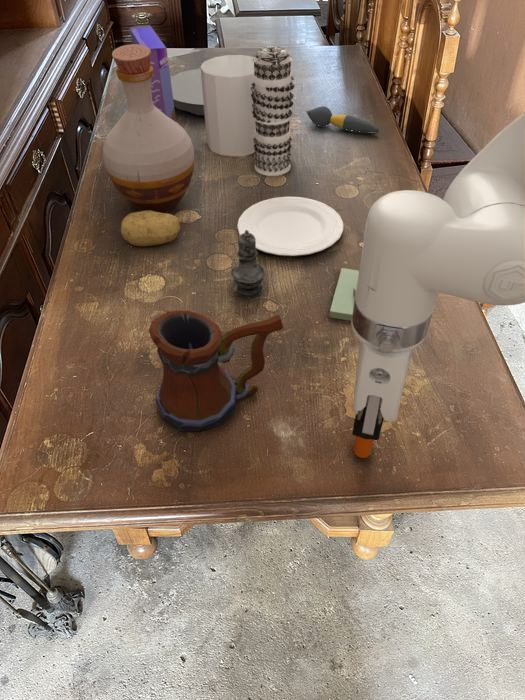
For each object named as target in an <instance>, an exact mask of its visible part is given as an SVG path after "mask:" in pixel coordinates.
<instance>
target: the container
mask: <svg viewBox="0 0 525 700" xmlns="http://www.w3.org/2000/svg"><path fill="white" fill-rule="evenodd" d="M252 58H253V56H250V55H244V54H226V55H220V56H213V57H211V58H209V59H207V60H205V61H204V60H203V62H202V64H201V65H200V67H199V68H200V70H201V80H202V91H203V102H204V113H205V115H204V123H205V134H206V145H207V147H208V148H209V150H210V151H211V152H214V153H216V154H217V155H220V156H227V157H243V156H249V155H252V154H254V152H255V150H254V144H255V143H254V140H253V139H254V138H255V129H256V125H255V120H254V118H253V113H252V111H253V107H252V104H253V100H252V97H251V94H252V90H251V84H252V83H253V82H254V80H253V73H254V61H253V60H252ZM254 89H255V88H254ZM254 96H255V94H254ZM255 106H256V105H255Z"/></svg>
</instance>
